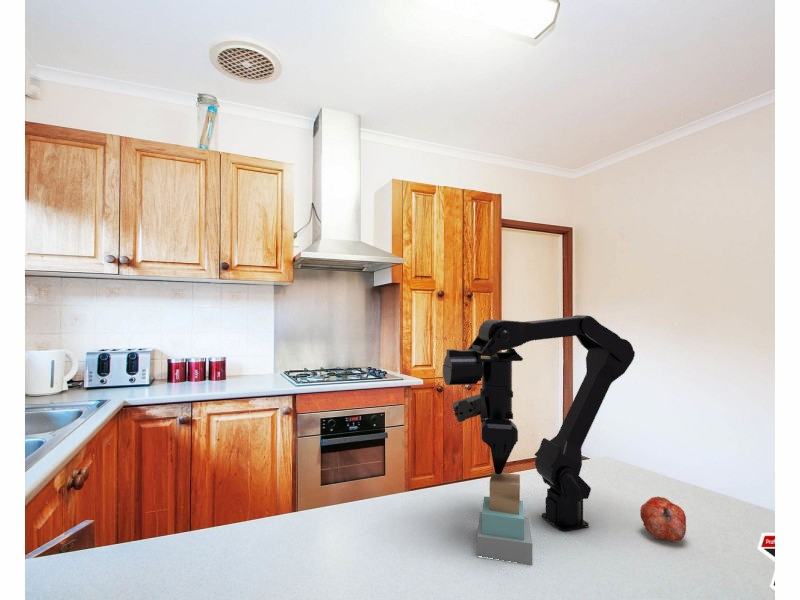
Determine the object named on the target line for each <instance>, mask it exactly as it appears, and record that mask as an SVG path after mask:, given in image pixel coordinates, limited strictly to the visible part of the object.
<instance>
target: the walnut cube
mask: <svg viewBox="0 0 800 600" xmlns="http://www.w3.org/2000/svg"><path fill="white" fill-rule="evenodd" d="M520 482H521V475H520V474H517V473H511V472H510V473H509V472H502V473H501V474H496V473H495V470H494V471H493V470H492V471H491V474H490V479H489V497H490V506H489V510H490V511H497V512H504V513H511V514H517V515H519V506H520V501H521V500H520V497H521V494H520V492H521V490H520V489H521V483H520Z"/></svg>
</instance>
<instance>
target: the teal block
mask: <svg viewBox="0 0 800 600" xmlns="http://www.w3.org/2000/svg"><path fill="white" fill-rule="evenodd" d="M489 506H490V496H485V495H484V496H483V503H482V511H481V512H482V534H484V535H491V536H498V537H504V538H511V539H518V540H524V517H525V511H524V501H523V500H520V506H519V515H517V514H511V513H504V512H497V511H490V510H489Z"/></svg>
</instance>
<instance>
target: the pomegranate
mask: <svg viewBox="0 0 800 600" xmlns="http://www.w3.org/2000/svg"><path fill="white" fill-rule="evenodd" d="M639 511H640V512H639V513H640V519H641V521H642V522H643V527H644V529H645V530H646V531H647V532H648V533H649V534H651V536H653V537H654V538H656V539H659V540H665V541H669V542H674V543H675V542H679V541H681V540H682V539H684V538H685V536H686V533H687V516H686V513H685V511H684V510H683V509H682V507H681V506H679V505H677V504H675V503H673V502H672V501H670V500H669V499H668V498H666V497H662V496H658V495H657V496H655V497H654V496H653V497H650V498H649V499H648V500H647V501H646V502H645V503H643V504H642V505H641V506H640V510H639Z"/></svg>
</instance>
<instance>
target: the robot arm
mask: <svg viewBox="0 0 800 600" xmlns="http://www.w3.org/2000/svg"><path fill="white" fill-rule="evenodd" d="M567 337H576V339H577V340H578V342H579V343H580V345H581V346H583V348H585V350H587V354H586V357H585V365H586V373H585V375H584V377H583V380H582V382H581V384H580V386H579V388H578V390H577V392H576V395H575V397H574V399H573V401H572V403H571V405H570V407H569V409H568V411H567V414H566V416H565V418H564V420H563V422H562V425H561V426H560V428H559V431H558V432H557V435H555V436H554V437H553V438H552V439H550V440H549V439H547V438H546V437H544V438H542V440H541V442H540V445H539V448H538V450H537V451H536V452H535V453H534V456H535V461H534V466H535V468H536V471H537V473H538V475H539V476H540V477H542V481H543V483H544V484H546V485H548V486H549V488H546V489H547V490H546V497H545V512H542V513H541V516H542V518H544V519H545V520H546V521H548V522H549V523H550V524H551V525H553V526H554V527H556V528H557V529H559V531H562V532H567V531H573V530H578V529H583V528H589V527H590V524H589V522H588V521H586V520H584V500H588V499H589V497H590V494H591V491H592V488H591V486H590V485H589V484H588V483H587V482H586V481H584V479H583V478H582V477H581V476H580V473H581V470H582V466H583V460H582V459H583V457H582V448H583V445H584V442H585V440H586V438H587V437H588V434H589V431H590V430H591V428H592V426H593V423H594V421H595V419H596V417H597V415H598V413H599V410H600V409H601V406H602V403H603V402H604V400H605V398H606V396H607V393H608V391H609V389H610V386H611V385H612V384H613V383H614V382H615V381H616V380H617V379H619V378H620V377H621V376H623V375H625V373H626V372H627V370H628V369H629V367H630V366H631V364H632V363H633V361H634V359H635V355H636V354H635V353H636V352H635V349H634V347H633V345H632V344H631V342H630V341H629V340H627V339H625V338H621V337H620V336H619V335H618V334H617V333H615V332H614V331H612V330H611V329H609V328H607V327H606V326H605V325H603V324H601V323H600V322H599V321H598V320H597V319H596V318H594V317H593V316H591V315H582V314H576V315H572V316H567V317H559V318H548V319H538V320H530V321H529V320H528V321H520V320H505V319H492V318H491V319H490V318H489V319H487V320H484V321H483V322H482V323H481V325H480V326H479V328H478V334H477V336H476V337H475V339H474V340H473V342H472V343H471V344H470V346H469V347H468V348H467V349H453V348H451V349H450V348H447V349H446V351H445V352H446V355H445V356H444V360H443V361H444V362H443V365H442V377H443V381H444V384H445V385H446V386H470V385H472V386H473V385H477V384H478V383H479V382H480V381H481V387H480V388H479V394H476V395H471V396H468V397H466V398H463V399H459V400H456V401H455V402H453V403H452V409H453V412H454V415H455V418H456V421H457V422H458V423H462V422H465V421H466V420H468V419H472V418H474V417H477V416H479V418H480V423H481V424H480V431H481V432H480V433H481V434H480V435H481V441H482V442H483V443H484V444H485V445H487V446H488V447H489V449H490V453H491V460H492V463H493V470H494V472H495V473H496V474H501V473H503V470H504V469H505V467H506V464H507V461H508V460H509V458H510V455H511V453H512V452H513V450H514V448H515V445H516V444H517V442H519V430H518V428H517V425H516V424H515V423H514V422H513V421H512V420H513V419H514V413H513V398H514V391H513V362H522V361H523V359H524V358H523V356H521V355H520V354H519V352H517V351H516V349H515V348H517V347H521V346H522V345H525V344H526V343H529V342H532V341H540V340H549V339H558V338H567Z"/></svg>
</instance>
